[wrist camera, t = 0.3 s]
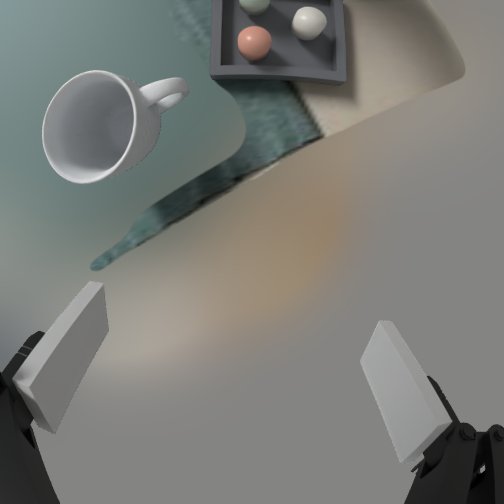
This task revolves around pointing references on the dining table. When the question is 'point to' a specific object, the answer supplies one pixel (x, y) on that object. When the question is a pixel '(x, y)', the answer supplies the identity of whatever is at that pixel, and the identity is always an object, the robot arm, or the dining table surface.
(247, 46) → the button coral
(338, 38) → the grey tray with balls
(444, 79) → the dining table surface
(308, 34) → the button ivory
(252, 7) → the button sage
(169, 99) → the mug
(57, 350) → the robot arm
